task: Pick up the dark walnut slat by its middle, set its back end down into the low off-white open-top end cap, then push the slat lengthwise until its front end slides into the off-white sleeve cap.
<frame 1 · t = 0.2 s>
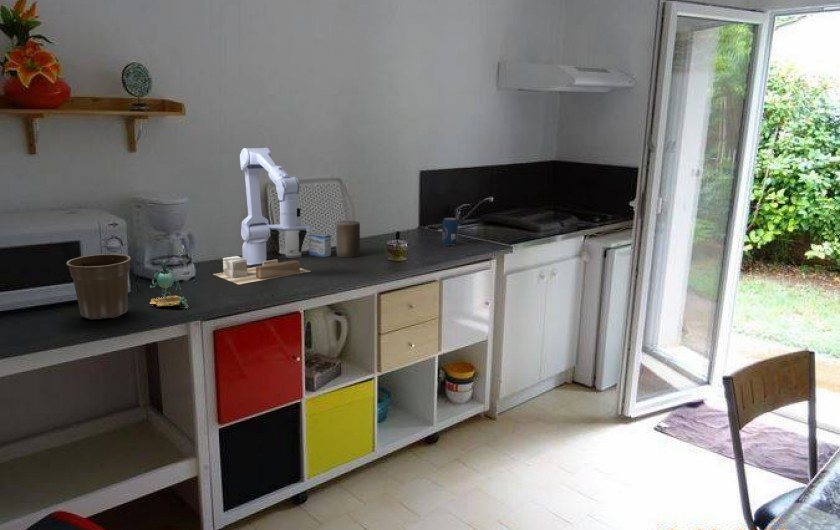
hand: (289, 251, 233), 10 cm above the table, fingers open, 7 cm apart
frog figurine: (168, 305, 201), on the table
pillar candle: (348, 255, 273), on the table
plant pot: (104, 315, 190), on the table
medicine box: (320, 255, 272), on the table
travel mug: (293, 257, 268), on the table
soda can: (449, 245, 299), on the table
slat board: (262, 275, 238), on the table
slat: (278, 275, 235), point 1 cm above the table, touching slat board
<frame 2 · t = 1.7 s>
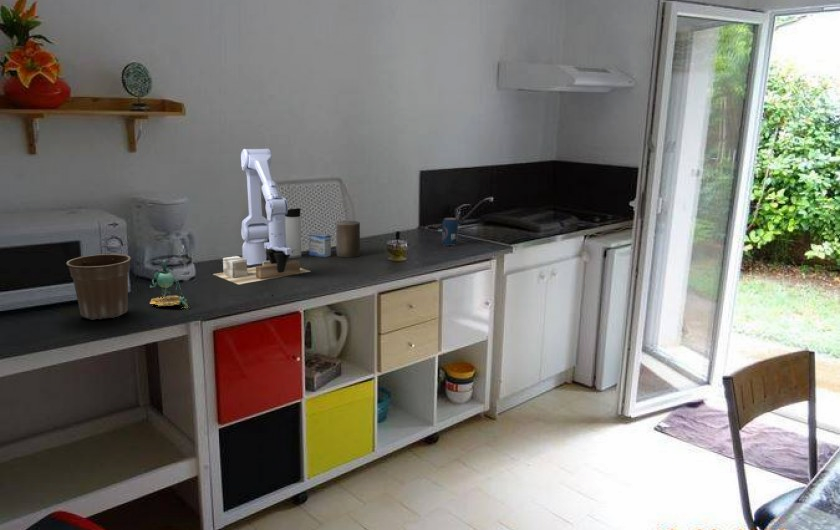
hand: (278, 271, 234), 2 cm above the table, fingers closed on slat, 3 cm apart
slat: (278, 275, 235), point 1 cm above the table, touching gripper, slat board
everything else where it was.
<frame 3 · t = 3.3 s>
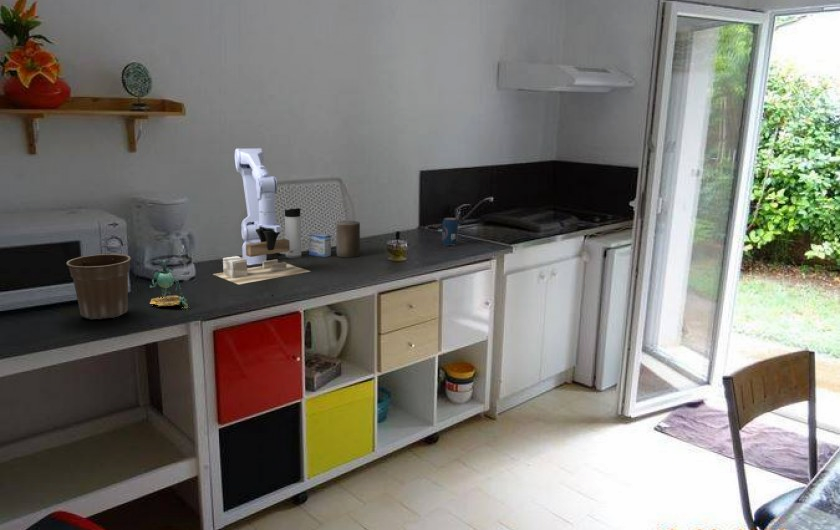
hand: (268, 249, 237), 9 cm above the table, fingers closed on slat, 3 cm apart
slat: (268, 253, 238), point 8 cm above the table, touching gripper
everything else where it was.
when the fingers open (4 cm above the table, at t = 4.9 s): slat drops 1 cm, resting on slat board.
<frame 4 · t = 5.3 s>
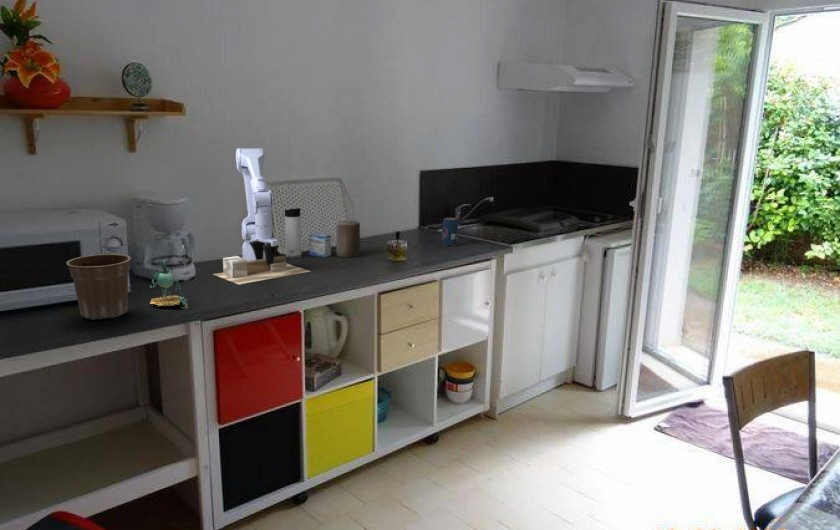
hand: (264, 262, 240), 4 cm above the table, fingers open, 6 cm apart
slat: (265, 270, 241), point 1 cm above the table, touching slat board
everything else where it was.
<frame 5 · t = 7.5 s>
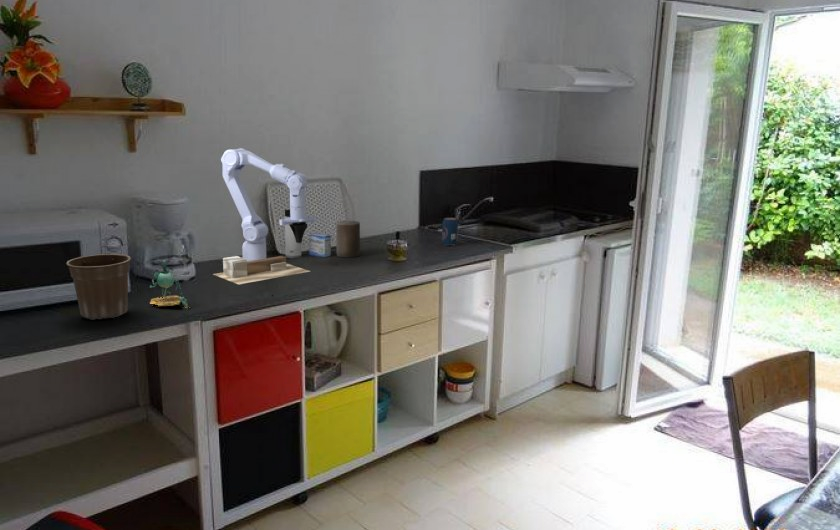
hand: (298, 242, 249), 9 cm above the table, fingers closed
nothing on the table moved.
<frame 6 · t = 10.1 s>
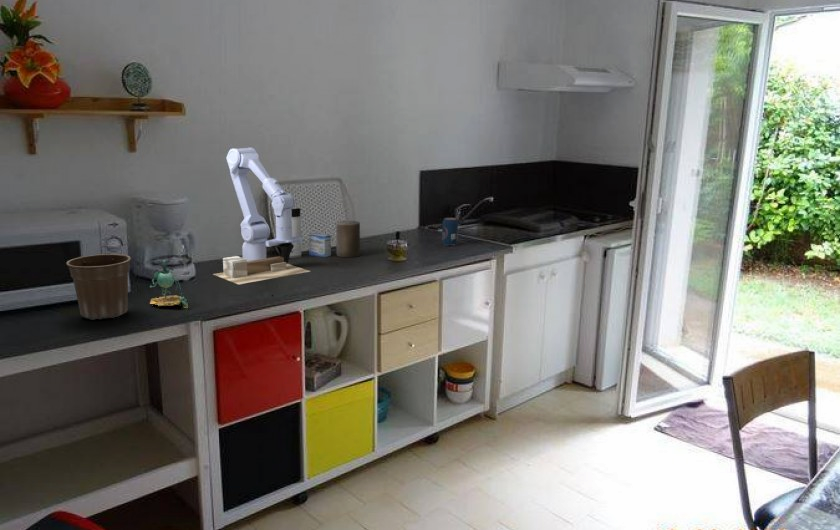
hand: (284, 263, 246), 2 cm above the table, fingers closed
slat: (262, 270, 240), point 1 cm above the table, touching gripper
everything else where it was.
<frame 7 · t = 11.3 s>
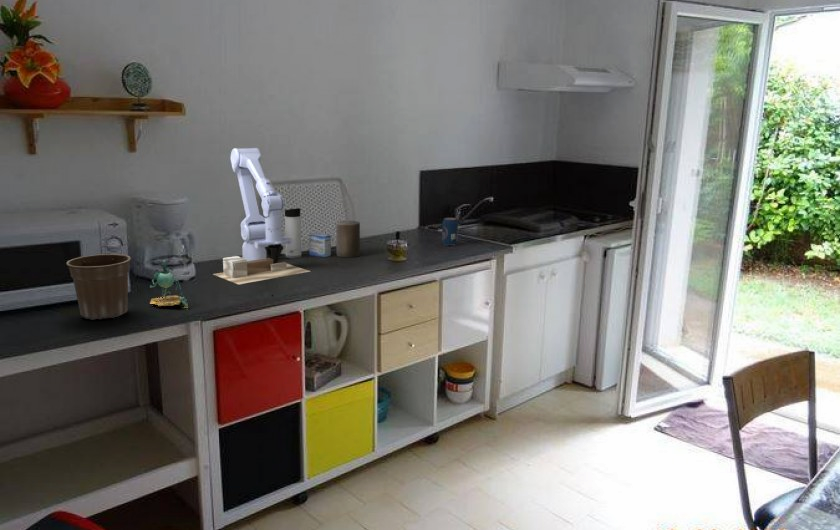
hand: (274, 265, 243), 2 cm above the table, fingers closed
slat: (251, 272, 237), point 1 cm above the table, touching gripper, slat board
everything else where it was.
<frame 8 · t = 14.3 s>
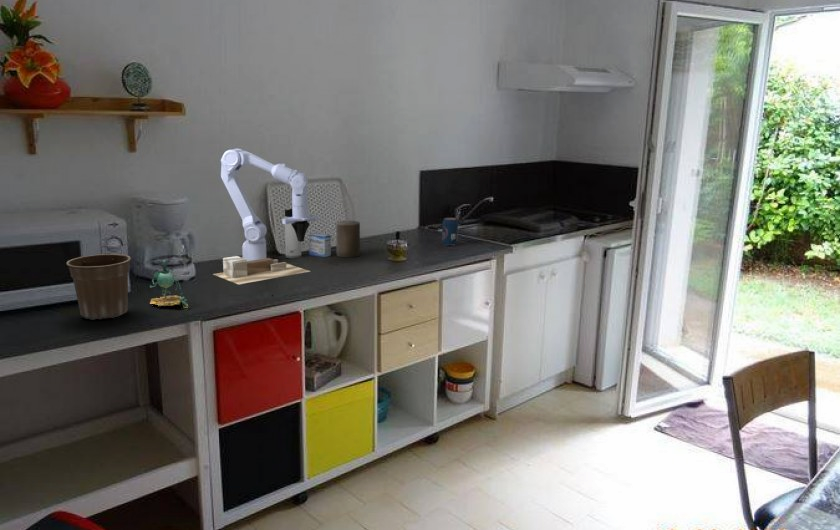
hand: (300, 241, 252), 9 cm above the table, fingers closed
slat: (251, 272, 237), point 1 cm above the table, touching slat board
everything else where it was.
at the end: slat 0.7 cm from the target spot on the slat board, point 1.0 cm above the slat board's base; slat tilted 0°; the gripper is holding nothing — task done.
